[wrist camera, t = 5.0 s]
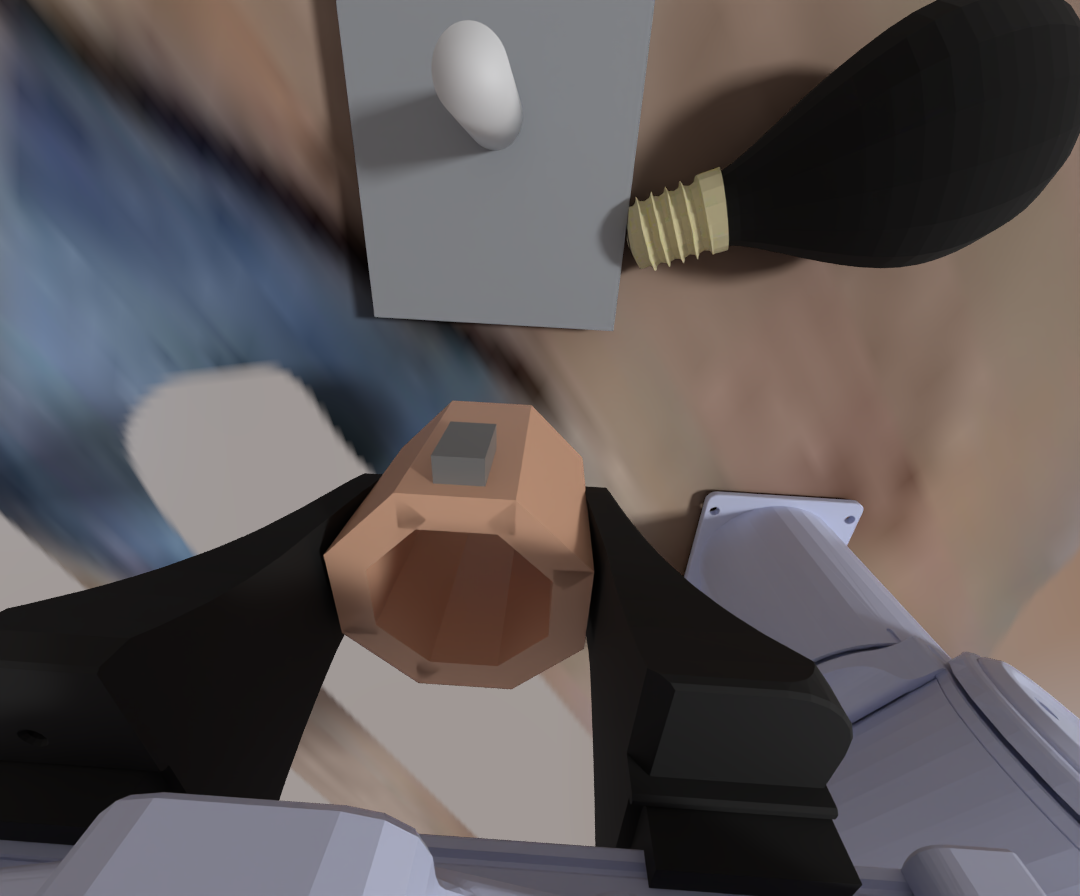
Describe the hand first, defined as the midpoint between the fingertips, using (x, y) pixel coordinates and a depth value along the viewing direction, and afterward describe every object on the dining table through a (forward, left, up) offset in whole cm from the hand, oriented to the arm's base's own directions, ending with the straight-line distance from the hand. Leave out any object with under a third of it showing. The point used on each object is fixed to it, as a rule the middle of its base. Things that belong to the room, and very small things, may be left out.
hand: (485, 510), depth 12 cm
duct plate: (+11, +1, -9) cm, 14 cm away
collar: (0, 0, -1) cm, 1 cm away
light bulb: (+9, -10, -10) cm, 17 cm away
